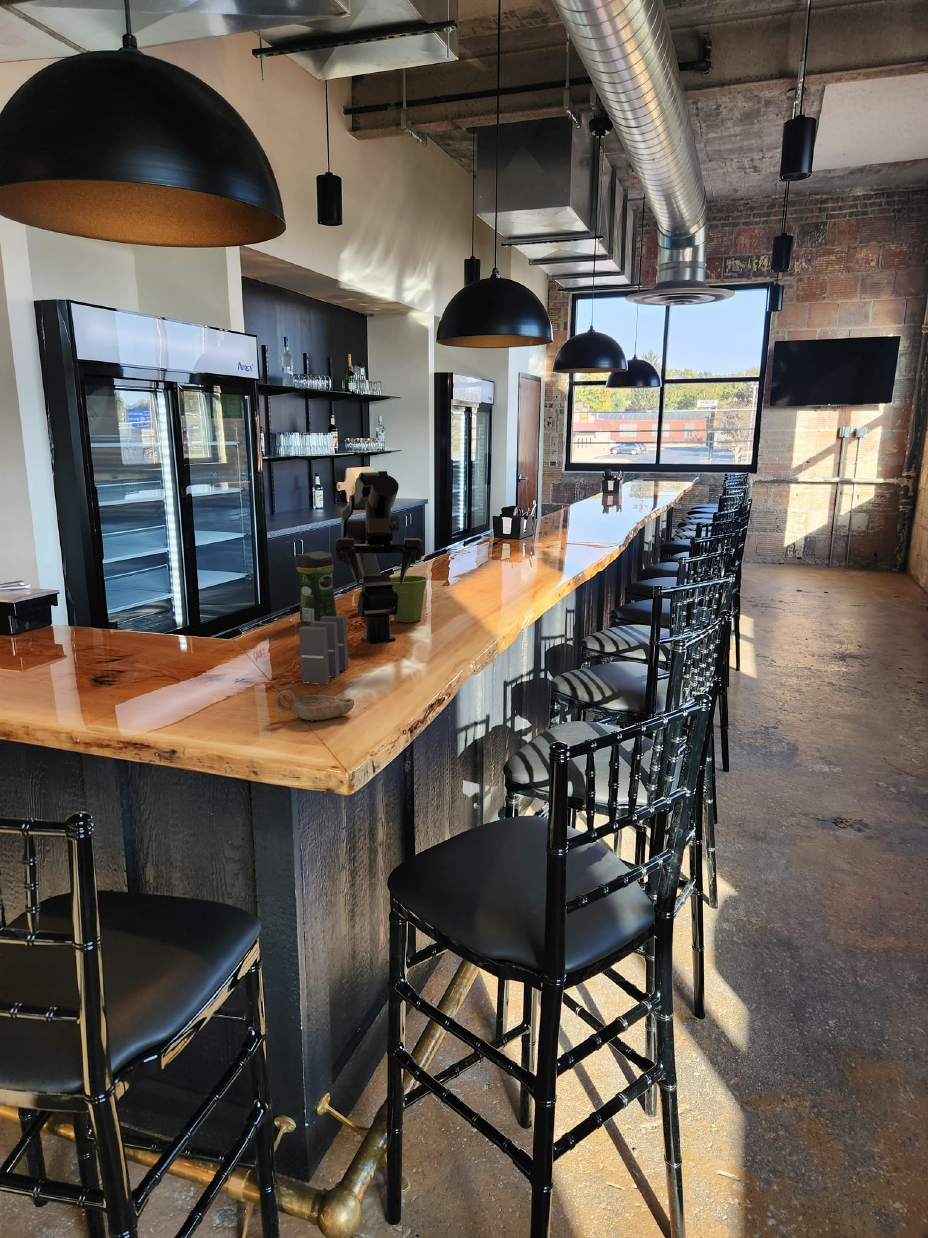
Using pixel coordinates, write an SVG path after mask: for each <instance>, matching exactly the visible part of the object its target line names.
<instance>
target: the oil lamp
mask: <svg viewBox="0 0 928 1238" xmlns="http://www.w3.org/2000/svg"><path fill="white" fill-rule="evenodd" d="M283 696H288V697H289V698H290V699H291V703H290V705H284V704H283V703H282V702H281V700H280V698H281V697H283ZM275 705H276V707H277V708H278V710H281V711H283V712H286V711H287V712H288V711H292V710H293V712H295V715H296V716H297V717H298V718H300V719H303V720H306V721H308V720H311V721H310V722H314V721H313V720H316V721H324V720H329V719H333V718H334V717H335V718H338V717H341V716H344V715H347V714H348V713H350V712H351V711H352V710H353V709H354V706H355V700H354V699H353V698H350V697H348V698H346V699H345V698H343V699H341V698H339V697H338V696H331V695H325V694H308V695H303V696H299V697H297V698H296V696H295V694H294V693H293V691H291V690H288V689H286V690H281V691H280V692H278V694H277V695H276V697H275Z"/></svg>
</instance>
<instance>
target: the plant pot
mask: <svg viewBox="0 0 928 1238" xmlns="http://www.w3.org/2000/svg"><path fill="white" fill-rule="evenodd" d="M390 579H391V582H392V584H393V588H394V589H395V590H396V592H397V594H398V595H399V599H398V607H397V615H392V616H393V621H395V622H397V623H400V622H402V623H405V624H408V623H409V624H410V623H416V622H418V621H421V619H422V615H423V605H424V604H423V603H424V598H425V590H426V587H427V581H428V580H429V577H427V576H424V575H405V577H404V580H403V583H402V585H400V575H397V576H390Z"/></svg>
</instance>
